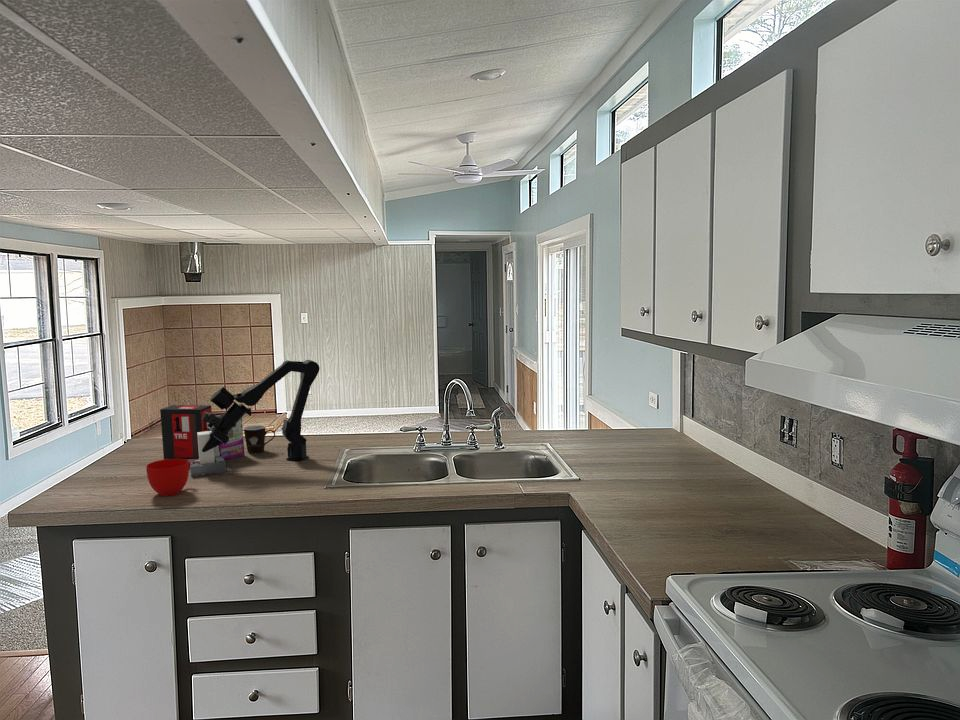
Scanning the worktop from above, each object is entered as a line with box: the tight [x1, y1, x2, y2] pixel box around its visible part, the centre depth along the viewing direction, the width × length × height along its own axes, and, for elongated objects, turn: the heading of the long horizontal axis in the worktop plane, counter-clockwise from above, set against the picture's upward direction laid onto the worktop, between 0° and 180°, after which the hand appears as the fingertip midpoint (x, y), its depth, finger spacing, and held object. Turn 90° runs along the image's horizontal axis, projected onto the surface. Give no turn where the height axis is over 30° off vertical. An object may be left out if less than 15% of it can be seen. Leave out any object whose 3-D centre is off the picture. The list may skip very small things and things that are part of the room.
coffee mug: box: [243, 425, 276, 454], centre depth 286 cm, size 12×9×10 cm
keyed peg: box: [195, 431, 215, 464], centre depth 258 cm, size 6×5×13 cm
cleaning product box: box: [159, 404, 213, 460], centre depth 280 cm, size 16×9×20 cm, turn 84°
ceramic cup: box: [145, 459, 190, 497], centre depth 234 cm, size 13×17×10 cm
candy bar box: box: [214, 417, 245, 461], centre depth 277 cm, size 11×5×16 cm, turn 143°
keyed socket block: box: [187, 456, 227, 477], centre depth 259 cm, size 12×12×4 cm
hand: (202, 449), depth 258 cm, fingers closed on keyed peg, 5 cm apart
